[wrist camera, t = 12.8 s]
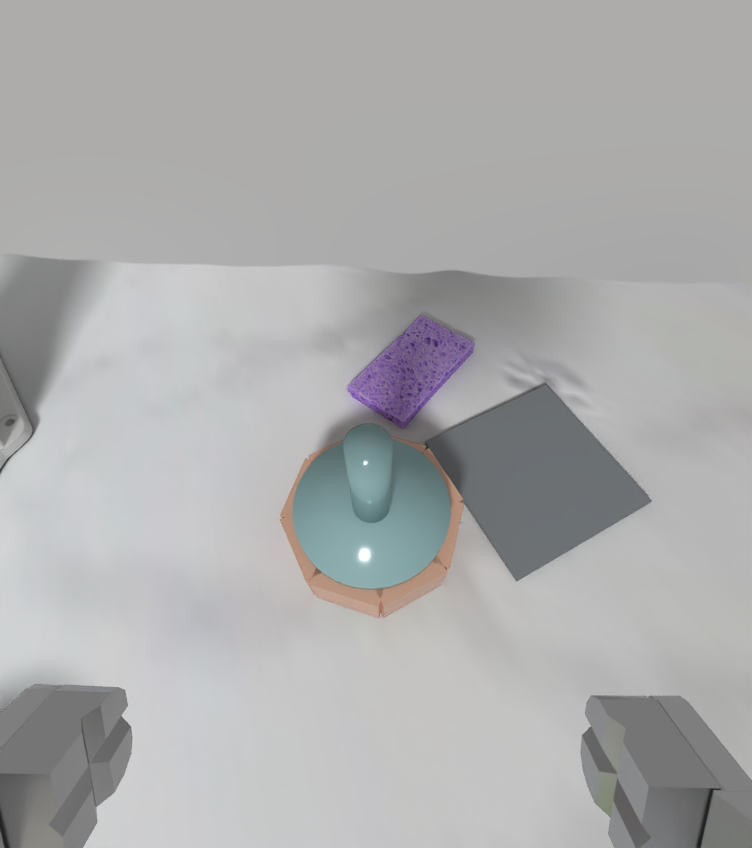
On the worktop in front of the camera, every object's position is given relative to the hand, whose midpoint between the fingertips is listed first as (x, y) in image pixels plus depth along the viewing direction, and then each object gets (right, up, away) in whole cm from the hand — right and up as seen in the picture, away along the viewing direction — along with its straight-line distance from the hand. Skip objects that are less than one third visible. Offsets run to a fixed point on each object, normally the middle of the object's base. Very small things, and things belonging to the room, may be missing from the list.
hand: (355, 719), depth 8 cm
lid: (0, -1, +26) cm, 26 cm away
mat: (+14, +1, +32) cm, 35 cm away
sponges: (+4, +10, +39) cm, 41 cm away
